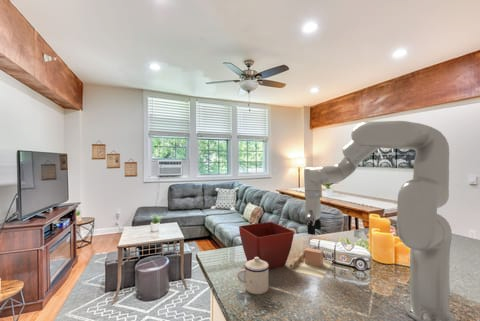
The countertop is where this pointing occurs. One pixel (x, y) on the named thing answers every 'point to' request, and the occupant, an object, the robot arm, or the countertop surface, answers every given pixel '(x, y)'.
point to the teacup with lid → (256, 276)
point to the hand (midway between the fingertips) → (314, 231)
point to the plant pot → (267, 243)
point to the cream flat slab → (309, 266)
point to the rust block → (314, 256)
